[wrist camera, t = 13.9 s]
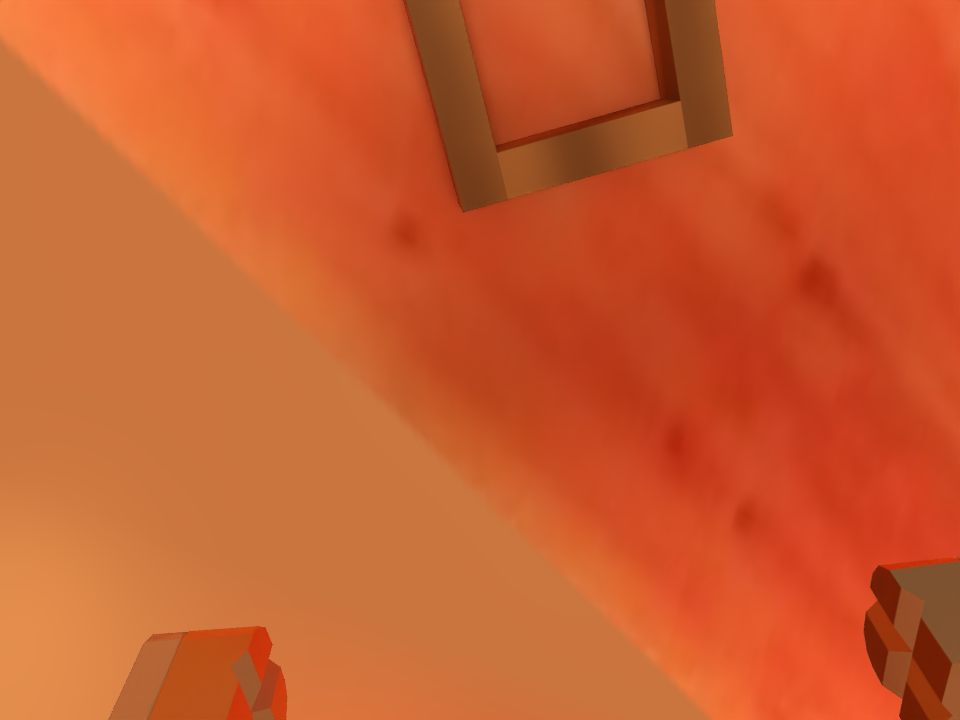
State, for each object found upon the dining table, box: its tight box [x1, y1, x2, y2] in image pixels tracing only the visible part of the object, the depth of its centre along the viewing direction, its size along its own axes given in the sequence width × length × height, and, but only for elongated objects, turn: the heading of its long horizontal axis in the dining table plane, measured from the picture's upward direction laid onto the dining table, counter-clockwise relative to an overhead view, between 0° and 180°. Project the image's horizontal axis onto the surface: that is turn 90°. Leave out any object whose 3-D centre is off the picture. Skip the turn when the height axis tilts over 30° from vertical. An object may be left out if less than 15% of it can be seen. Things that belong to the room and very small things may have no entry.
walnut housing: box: [404, 0, 733, 212], centre depth 32 cm, size 12×12×2 cm
